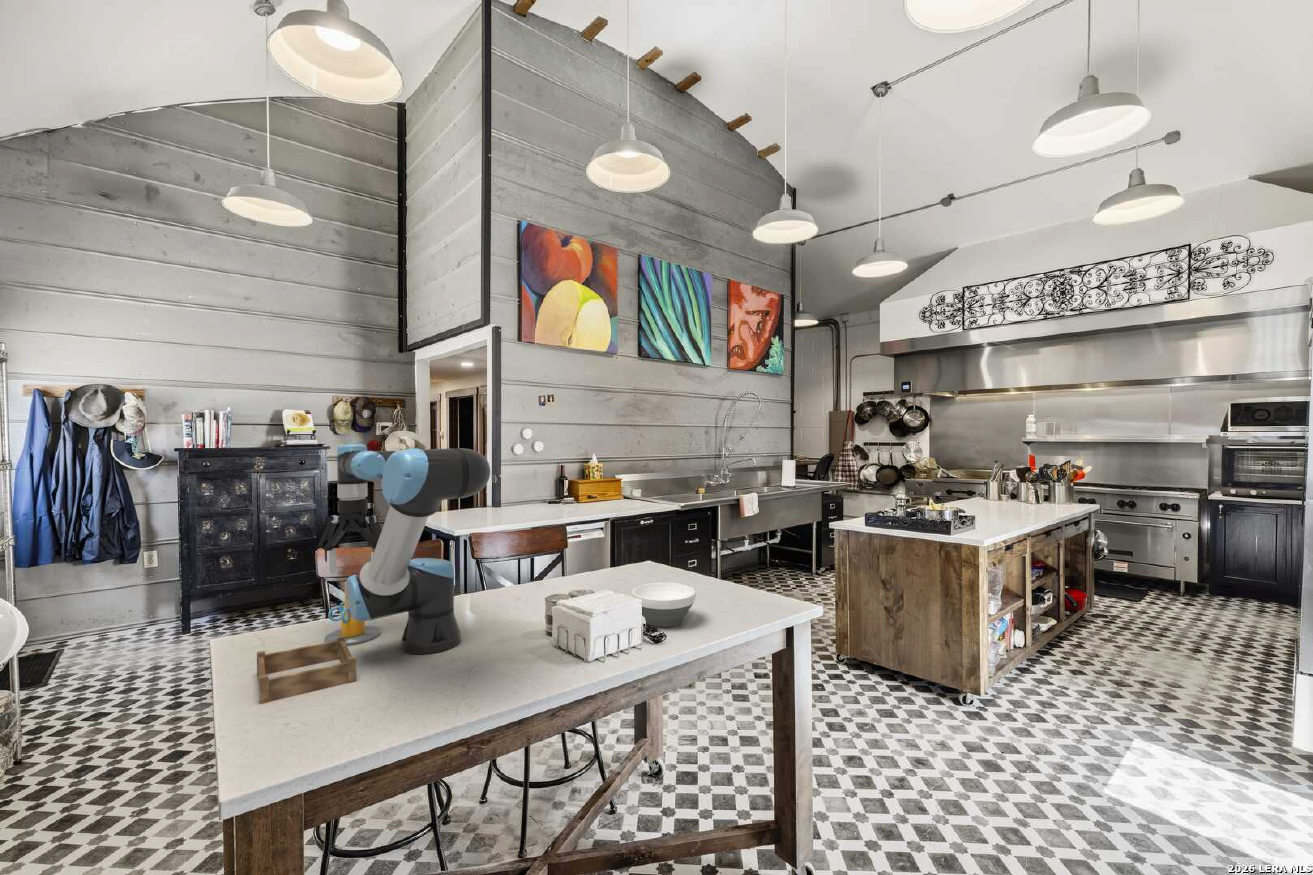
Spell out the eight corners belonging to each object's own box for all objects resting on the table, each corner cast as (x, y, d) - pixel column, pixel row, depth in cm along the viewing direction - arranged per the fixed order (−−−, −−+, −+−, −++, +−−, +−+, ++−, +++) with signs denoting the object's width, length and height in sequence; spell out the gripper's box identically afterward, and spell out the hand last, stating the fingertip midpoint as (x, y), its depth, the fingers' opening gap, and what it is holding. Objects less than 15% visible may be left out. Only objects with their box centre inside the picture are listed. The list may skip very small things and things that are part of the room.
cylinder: (344, 626, 165) (344, 576, 165) (380, 626, 165) (380, 575, 165) (322, 642, 153) (322, 587, 152) (361, 641, 153) (361, 586, 153)
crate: (343, 655, 145) (343, 635, 145) (356, 680, 130) (356, 657, 130) (256, 674, 134) (256, 651, 134) (259, 703, 119) (259, 678, 119)
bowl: (656, 607, 185) (656, 579, 185) (707, 619, 174) (707, 588, 174) (619, 624, 170) (619, 592, 170) (672, 637, 158) (672, 604, 158)
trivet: (390, 629, 165) (390, 626, 165) (359, 647, 151) (359, 644, 151) (347, 627, 167) (347, 624, 167) (312, 644, 153) (312, 641, 153)
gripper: (401, 497, 161) (402, 571, 160) (322, 497, 164) (323, 569, 164) (385, 499, 153) (385, 577, 153) (303, 499, 157) (303, 575, 157)
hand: (353, 573), depth 159 cm, fingers open, 13 cm apart
